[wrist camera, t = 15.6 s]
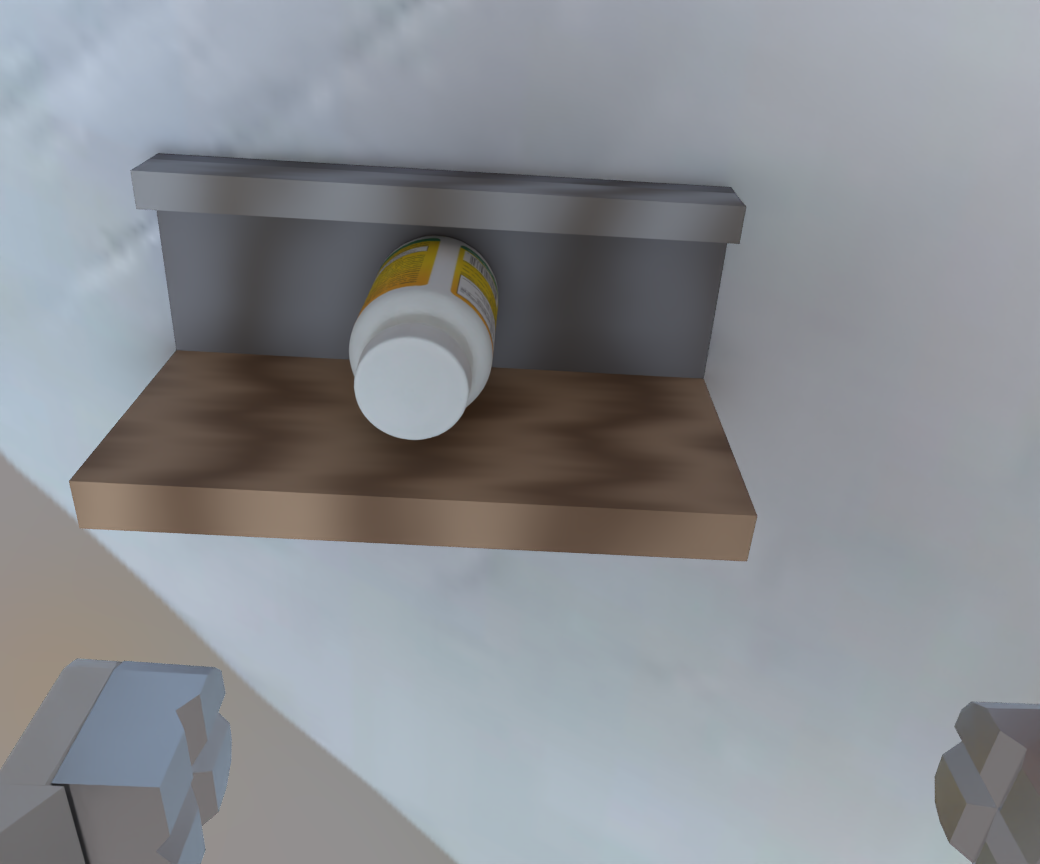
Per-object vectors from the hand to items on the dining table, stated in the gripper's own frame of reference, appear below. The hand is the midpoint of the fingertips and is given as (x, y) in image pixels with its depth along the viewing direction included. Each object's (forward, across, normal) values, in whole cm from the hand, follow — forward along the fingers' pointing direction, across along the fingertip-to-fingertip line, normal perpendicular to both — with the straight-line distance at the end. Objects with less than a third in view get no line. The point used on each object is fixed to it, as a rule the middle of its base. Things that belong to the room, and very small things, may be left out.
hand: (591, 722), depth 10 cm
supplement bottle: (+30, -4, -6) cm, 31 cm away
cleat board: (+31, -4, -7) cm, 32 cm away
